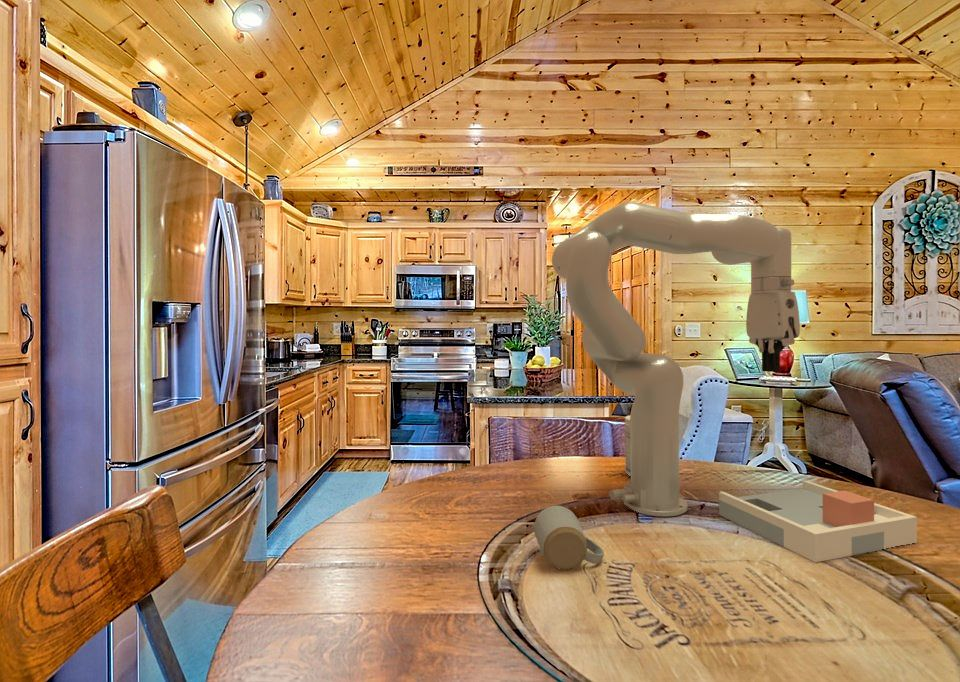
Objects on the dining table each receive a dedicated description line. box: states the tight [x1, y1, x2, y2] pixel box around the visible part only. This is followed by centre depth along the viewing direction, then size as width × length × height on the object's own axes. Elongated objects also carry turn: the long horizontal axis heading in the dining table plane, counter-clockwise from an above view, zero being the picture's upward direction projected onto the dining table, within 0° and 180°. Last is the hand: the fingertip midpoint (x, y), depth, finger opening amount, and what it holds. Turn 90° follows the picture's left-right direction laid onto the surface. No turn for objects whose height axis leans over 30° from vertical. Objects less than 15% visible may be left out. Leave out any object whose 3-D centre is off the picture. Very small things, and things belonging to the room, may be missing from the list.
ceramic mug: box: [533, 505, 605, 570], centre depth 79 cm, size 11×8×8 cm
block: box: [823, 489, 875, 527], centre depth 83 cm, size 5×5×5 cm
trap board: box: [718, 480, 918, 563], centre depth 90 cm, size 22×20×4 cm
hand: (770, 371), depth 107 cm, fingers closed
